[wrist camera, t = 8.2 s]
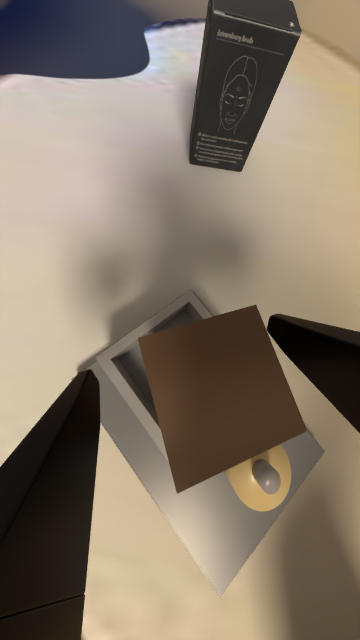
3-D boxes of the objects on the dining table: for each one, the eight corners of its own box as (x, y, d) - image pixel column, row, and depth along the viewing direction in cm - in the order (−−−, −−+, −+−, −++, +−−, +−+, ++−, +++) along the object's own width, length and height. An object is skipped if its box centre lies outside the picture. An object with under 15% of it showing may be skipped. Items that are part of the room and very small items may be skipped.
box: (238, 145, 25) (294, -2, 15) (240, 173, 24) (304, 33, 13) (188, 136, 24) (211, -29, 14) (188, 164, 23) (213, 6, 12)
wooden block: (204, 379, 15) (307, 431, 5) (163, 393, 15) (176, 493, 4) (191, 339, 16) (255, 304, 5) (152, 351, 15) (137, 337, 5)
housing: (314, 445, 16) (363, 473, 12) (215, 579, 13) (239, 675, 9) (191, 295, 18) (200, 278, 14) (77, 377, 15) (48, 385, 11)
